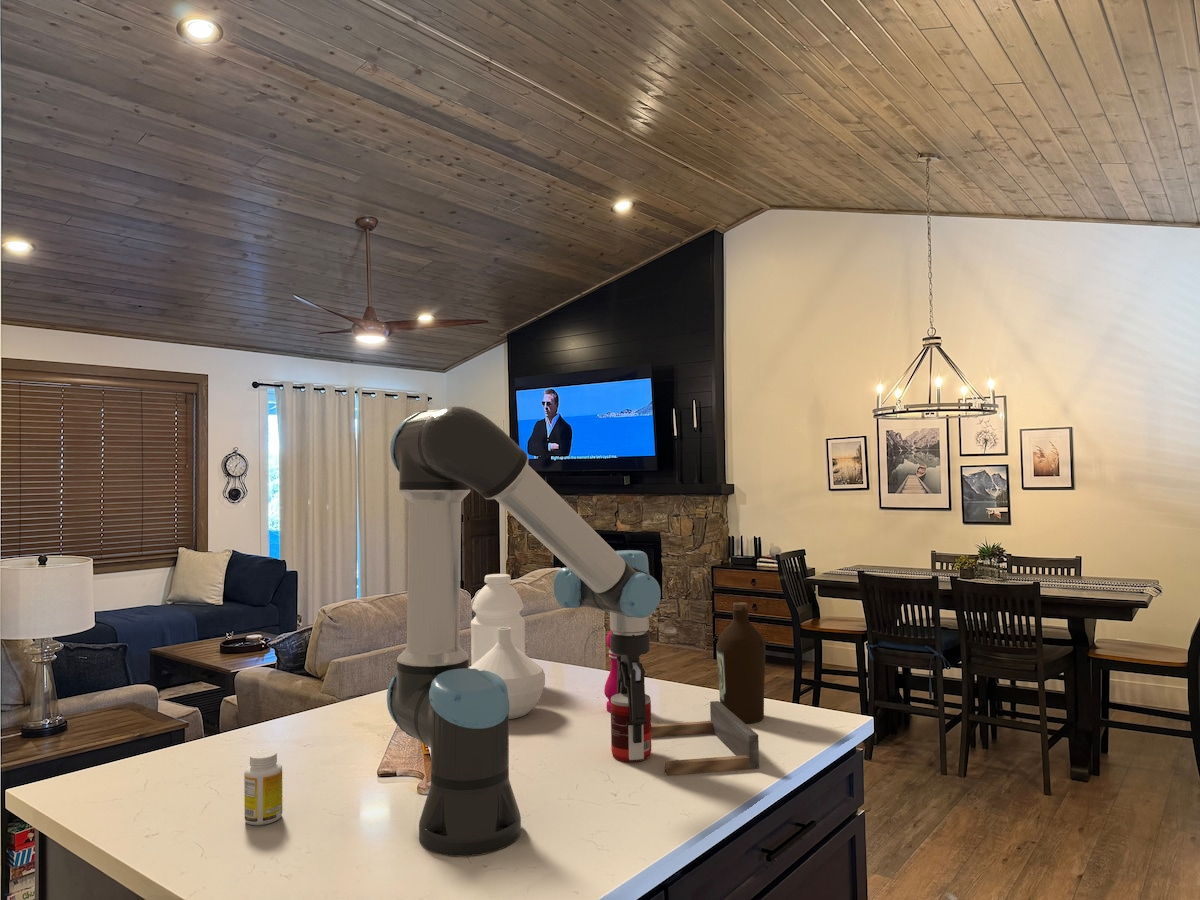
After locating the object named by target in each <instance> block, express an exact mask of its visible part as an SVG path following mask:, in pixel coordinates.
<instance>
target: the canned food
mask: <svg viewBox="0 0 1200 900" xmlns="http://www.w3.org/2000/svg"><path fill="white" fill-rule="evenodd" d="M651 703H652V701H651V696H650V695H648V694H647V693H645V705H646V719H647V722H646V724H644V725H643V729H644V759H639V760H629V731H628V726H627V725H626V722H630V717H629V703H628V695H627V694H621V693H619V694H616V695H614V696H612V697H611V713H610V740H611V741H610V745H611V748H610V749H611V754H612V758H614V759H615V760H617V761H619V762H627V763H628V762H629V763H633V762H635V763H637V762H642V761H645V760H648V758H649V757H650V756H651V754H652V737H651V725H652V704H651ZM636 718H638V717H636Z"/></svg>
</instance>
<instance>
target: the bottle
mask: <svg viewBox="0 0 1200 900" xmlns="http://www.w3.org/2000/svg"><path fill="white" fill-rule="evenodd" d="M511 581H512V579H511V574H508V573H491V574H486V575H485V576H484V583H485V585H484V586H483V587H482V588H481V589H480V590H479V591H478V592H477V594H476V596H475V598H474V600H473V602H472V605H471V609H472V611H473V612H474V613H475V616H474V617H473V618H472V619H471V621H470V639H471V640H470V641H471V644H470V645H471V647H470V648H471V650H470V651H471V652H470V653H471V654H470V655H471V657H470V658H471V661H470V662H471V666H472V665H473V664H474V663H476V662H477V661H478V660H479V659H481V658H482V657H483V656H484V655H485V654H486V653H488V652H489V651H490V650H491V649H492V648H493V647H494V646H495V645H496V643H497V640H498V628H501V627H509V628H511V642H512V643H513V645H514V646H515V647H516V648H517V649H519V650H520V651H521V652H522V653H524V654H525V655H526V647H525V646H526V620H525V618H524V617H523V616H522V615H521V611H522V610H523V609H524V607H525V606H524V604H523V600H522V597H521V595H520V594H519V593H518V591H517V590H516V589H515V588H514V587H513V586H512V585H511V584H510V583H511Z"/></svg>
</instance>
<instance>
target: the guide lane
mask: <svg viewBox="0 0 1200 900" xmlns="http://www.w3.org/2000/svg"><path fill="white" fill-rule="evenodd" d="M709 702H710V703H709V706H710V709H709V712H710V718H709V719H710V720H704V721H700V720H699V721H689V722H688V721H686V722H673V723H671V722H670V723H659V724H658V723H657V724H656V723H655V724H651V738H653V737H671V736H681V735H683V736H686V735H697V734H714V735H715V737H717V738H718V740H720V741H721V743H723V744H724V746H726V747H727V748H728V749H729V750H730V751H731V752H732V753H733V754H734V755H731V756H730V755H729V756H727V755H726V756H715V757H705V758H704V757H703V758H689V759H686V758H685V759H678V760H677V759H673V760H664V774H665V775H666V776H673V775H674V776H675V775H687V774H702V773H703V774H704V773H711V772H715V773H716V772H726V771H727V772H729V771H738V770H739V771H740V770H753V769H759V768H760V762H759V761H760V754H759V753H760V751H759V747H760V746H759V742H760V741H759V734H758V733H757V732H755V730H753V729H752V728H751V727H750V726H749V725H748V724H747V723H744V722H743V721H741V720H740V719H739V718H738V717H737V716H736V715H734V714H733V713H732V712H731V711H730V710H728V709H727V708H726V707H725V706H724V705H723V704H721V703H720V700H714V701H709Z"/></svg>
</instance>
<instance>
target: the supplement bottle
mask: <svg viewBox="0 0 1200 900" xmlns="http://www.w3.org/2000/svg"><path fill="white" fill-rule="evenodd" d="M243 777H244V779H243V781H244V786H243V787H244V788H243V789H244V821H245V822H246V823H247V824H248V825H250V826H251V825H252V826H265V825H269V824H272V823H274V822H276V821H278V820H279V819H280V818H282V815H283V765H282V764H281V763H280V762H278V753H277V751H276V750H272V749H266V750H265V749H263V750H258V751H255V752H253V753H251V754H250V755H249V766H248V767H246V768H245V770H244V775H243Z"/></svg>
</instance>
